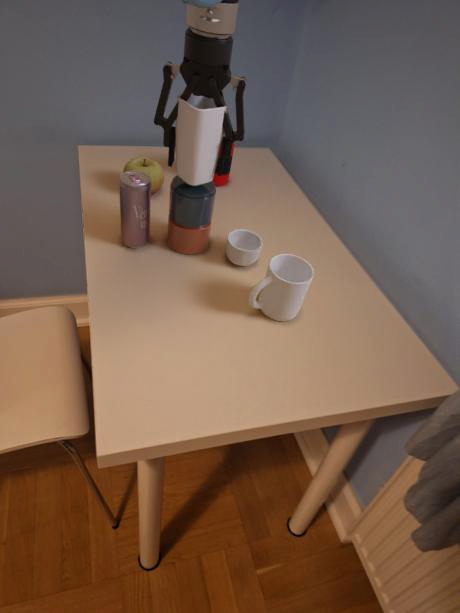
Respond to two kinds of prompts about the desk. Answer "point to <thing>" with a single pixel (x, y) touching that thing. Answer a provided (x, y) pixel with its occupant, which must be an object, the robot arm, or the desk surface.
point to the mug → (283, 287)
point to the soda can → (225, 172)
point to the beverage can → (135, 208)
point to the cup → (198, 138)
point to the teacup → (243, 247)
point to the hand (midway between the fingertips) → (195, 167)
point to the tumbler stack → (190, 216)
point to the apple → (147, 171)
